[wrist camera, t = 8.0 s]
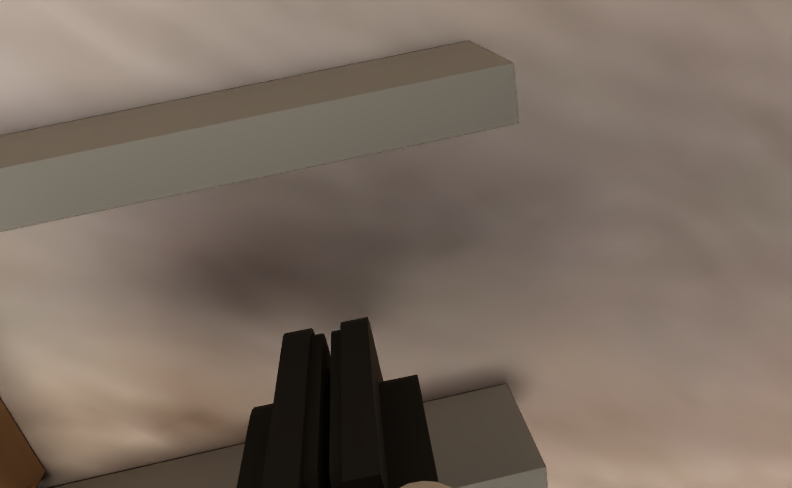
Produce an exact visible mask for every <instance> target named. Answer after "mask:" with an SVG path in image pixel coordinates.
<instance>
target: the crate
mask: <svg viewBox="0 0 792 488" xmlns="http://www.w3.org/2000/svg"><path fill="white" fill-rule="evenodd" d="M44 473H45V470H44V469H43V467H42V465H41V464H40V462H39V460H38V459H37V457H36V456H35V454H34V452H33V451H32V449H31V448H30V446H29V444H28V443H27V441H26V440H25V438H24V436H23V435H22V433H21V432H20V430H19V428H18V427H17V425H16V424H15V422H14V420H13V419H12V417H11V416H10V414H9V412H8V411H7V409H6V408H5V406H4V404H3V403H2V401H1V400H0V488H37V486H38V484H39V482H40V480H41V478H42V476H43V474H44Z"/></svg>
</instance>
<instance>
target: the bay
mask: <svg viewBox="0 0 792 488" xmlns="http://www.w3.org/2000/svg"><path fill="white" fill-rule="evenodd" d="M518 123H519V121H518V109H517V96H516V83H515V71H514V63H513V62H511V61H509V60H507V59H505V58H503V57H501V56H499V55H497V54H495V53H493V52H491V51H489V50H487V49H485V48H482V47H480V46H478V45H476V44H474V43H472V42H470V41H465V42H460V43H455V44H450V45H445V46H440V47H435V48H430V49H425V50H420V51H415V52H410V53H405V54H401V55H396V56H391V57H386V58H381V59H376V60H371V61H366V62H361V63H356V64H351V65H346V66H341V67H336V68H332V69H327V70H322V71H317V72H312V73H307V74H302V75H297V76H292V77H287V78H282V79H277V80H272V81H267V82H263V83H258V84H253V85H248V86H243V87H238V88H233V89H228V90H223V91H218V92H213V93H208V94H203V95H198V96H194V97H189V98H184V99H179V100H174V101H169V102H164V103H159V104H154V105H149V106H144V107H139V108H134V109H129V110H124V111H120V112H115V113H110V114H105V115H100V116H95V117H90V118H85V119H80V120H75V121H70V122H65V123H60V124H55V125H51V126H46V127H41V128H36V129H31V130H26V131H21V132H16V133H11V134H6V135H1V136H0V232H3V231H7V230H12V229H17V228H22V227H26V226H31V225H36V224H41V223H45V222H50V221H55V220H60V219H65V218H69V217H74V216H79V215H84V214H88V213H93V212H98V211H103V210H107V209H112V208H117V207H122V206H127V205H131V204H136V203H141V202H146V201H150V200H155V199H160V198H165V197H169V196H174V195H179V194H184V193H189V192H193V191H198V190H203V189H208V188H212V187H217V186H222V185H227V184H231V183H236V182H241V181H246V180H251V179H255V178H260V177H265V176H270V175H274V174H279V173H284V172H289V171H293V170H298V169H303V168H308V167H312V166H317V165H322V164H327V163H332V162H336V161H341V160H346V159H351V158H355V157H360V156H365V155H370V154H374V153H379V152H384V151H389V150H394V149H398V148H403V147H408V146H413V145H417V144H422V143H427V142H432V141H436V140H441V139H446V138H451V137H456V136H460V135H465V134H470V133H475V132H479V131H484V130H489V129H494V128H498V127H503V126H508V125H513V124H518ZM423 406H424V411H425V416H426V421H427V426H428V431H429V436H430V441H431V446H432V451H433V456H434V461H435V466H436V471H437V476H438V481H439V483H442V484H444V485H447V486H450V487H451V488H548V486H547V473H546V466H545V464H544V461H543V459H542V457H541V455H540V453H539V451H538V449H537V447H536V444H535V442H534V440H533V438H532V436H531V434H530V432H529V429H528V427H527V425H526V423H525V421H524V419H523V417H522V414H521V412H520V410H519V408H518V406H517V404H516V402H515V400H514V397H513V395H512V393H511V391H510V389H509V387H508V385H507V384H503V385H498V386H494V387H490V388H485V389H481V390H477V391H472V392H468V393H463V394H459V395H455V396H450V397H446V398H442V399H437V400H433V401H428V402H424V403H423ZM244 446H245V444H241V445H236V446H232V447H227V448H223V449H219V450H214V451H210V452H206V453H201V454H197V455H192V456H188V457H184V458H179V459H175V460H171V461H166V462H162V463H158V464H153V465H149V466H144V467H140V468H136V469H131V470H127V471H123V472H118V473H114V474H109V475H105V476H101V477H96V478H92V479H88V480H83V481H79V482H74V483H70V484H66V485H61V486H57V487H53V488H236V487H237V482H238V477H239V472H240V466H241V461H242V456H243V451H244Z"/></svg>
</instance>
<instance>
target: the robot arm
mask: <svg viewBox="0 0 792 488" xmlns="http://www.w3.org/2000/svg"><path fill="white" fill-rule="evenodd" d="M236 488H451V487H450V486H447V485H444V484H442V483H439V481H438V476H437V471H436V466H435V461H434V456H433V451H432V446H431V441H430V436H429V431H428V426H427V421H426V416H425V411H424V406H423V401H422V395H421V390H420V385H419V380H418V375H413V376H408V377H403V378H398V379H393V380H388V381H383V378H382V374H381V370H380V365H379V361H378V357H377V352H376V348H375V344H374V340H373V335H372V331H371V327H370V323H369V319H368V317H365V318H360V319H355V320H350V321H345V322H341V325H340V330H337V331H332V332H331V355H330V352H329V348H328V345H327V341H326V338H325V335H324V334H323V333H322V334H317V335H315V333H314V331H313V329H312V328H310V329H305V330H300V331H295V332H290V333H285V334H284V336H283V341H282V348H281V355H280V361H279V368H278V375H277V382H276V389H275V396H274V403H273V404H268V405H264V406H259V407H254V409H253V410H252V412H251V415H250V420H249V425H248V430H247V435H246V441H245V446H244V451H243V456H242V461H241V466H240V472H239V477H238V482H237V487H236Z"/></svg>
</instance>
